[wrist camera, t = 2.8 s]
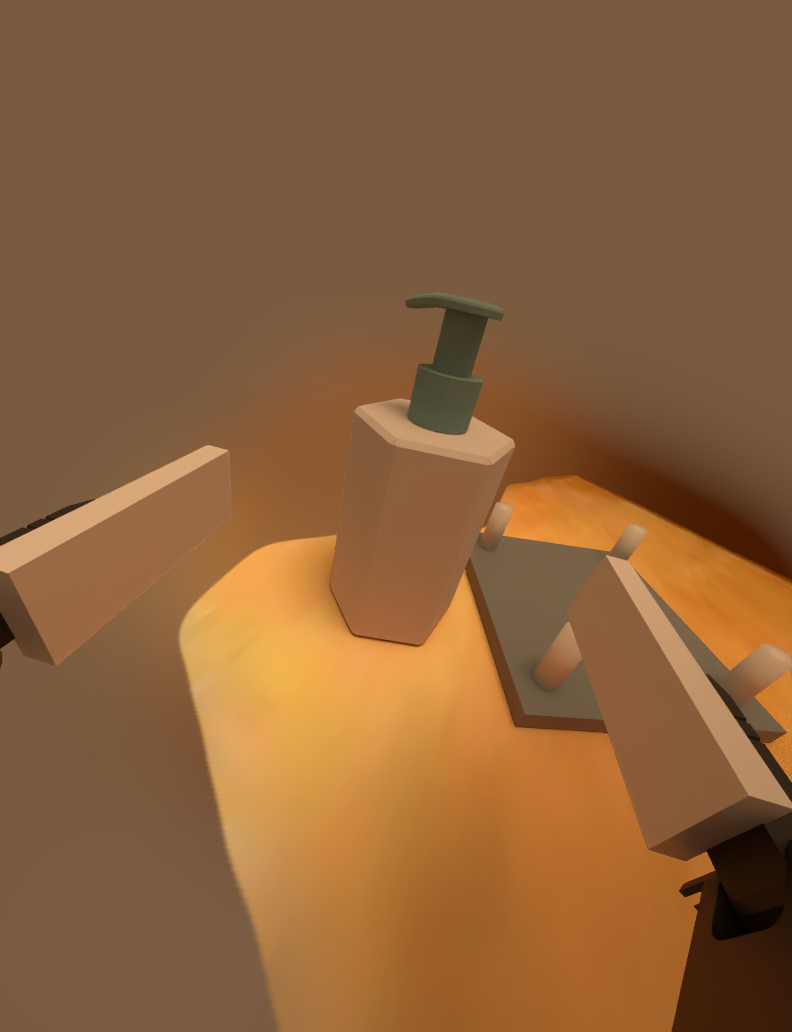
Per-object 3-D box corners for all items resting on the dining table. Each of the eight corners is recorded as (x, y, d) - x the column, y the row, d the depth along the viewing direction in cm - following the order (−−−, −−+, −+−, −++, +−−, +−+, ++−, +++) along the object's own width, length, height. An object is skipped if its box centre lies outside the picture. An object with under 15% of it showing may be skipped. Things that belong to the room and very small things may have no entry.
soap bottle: (379, 547, 35) (436, 296, 23) (460, 592, 32) (571, 326, 20) (307, 603, 27) (338, 265, 15) (404, 672, 24) (537, 307, 12)
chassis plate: (612, 562, 42) (643, 518, 38) (770, 742, 25) (850, 692, 21) (456, 540, 39) (474, 490, 35) (515, 726, 22) (561, 666, 19)
